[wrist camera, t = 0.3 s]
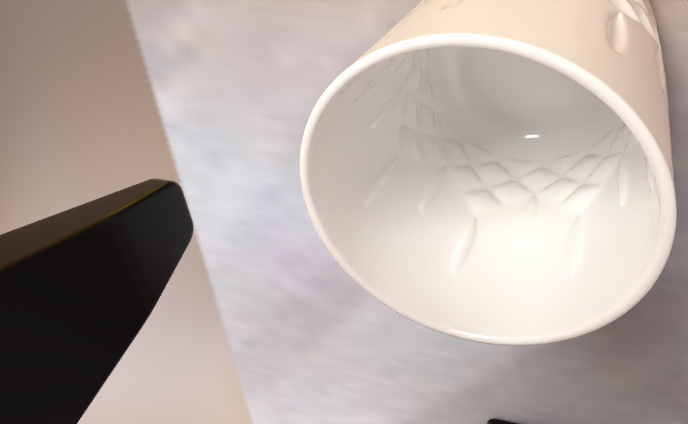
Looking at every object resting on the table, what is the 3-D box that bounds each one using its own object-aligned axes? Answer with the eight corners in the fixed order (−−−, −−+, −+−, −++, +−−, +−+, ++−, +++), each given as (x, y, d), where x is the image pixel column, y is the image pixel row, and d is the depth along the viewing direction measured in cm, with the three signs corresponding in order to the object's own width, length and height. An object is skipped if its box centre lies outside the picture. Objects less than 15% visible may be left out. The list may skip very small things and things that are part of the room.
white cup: (741, 25, 18) (784, 235, 10) (547, 180, 23) (488, 387, 16) (532, -154, 17) (427, -62, 10) (384, 49, 23) (248, 202, 15)
